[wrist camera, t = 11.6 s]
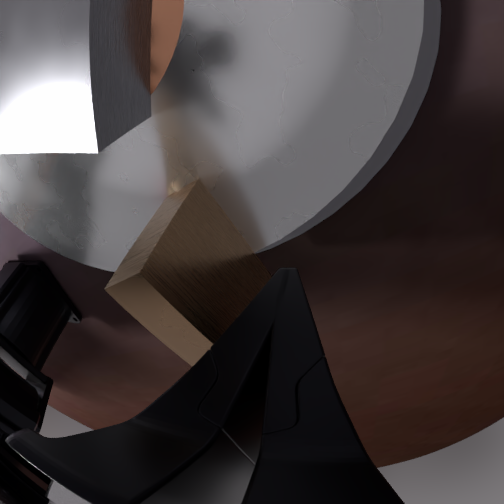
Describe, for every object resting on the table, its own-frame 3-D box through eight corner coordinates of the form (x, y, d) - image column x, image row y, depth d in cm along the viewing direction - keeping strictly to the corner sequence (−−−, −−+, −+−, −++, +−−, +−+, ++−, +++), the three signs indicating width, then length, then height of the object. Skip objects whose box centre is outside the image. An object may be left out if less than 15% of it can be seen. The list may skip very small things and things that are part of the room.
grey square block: (151, 116, 9) (98, 153, 6) (14, 124, 9) (-37, 156, 7) (162, -84, 4) (107, -112, 2) (8, -24, 4) (-50, -14, 2)
